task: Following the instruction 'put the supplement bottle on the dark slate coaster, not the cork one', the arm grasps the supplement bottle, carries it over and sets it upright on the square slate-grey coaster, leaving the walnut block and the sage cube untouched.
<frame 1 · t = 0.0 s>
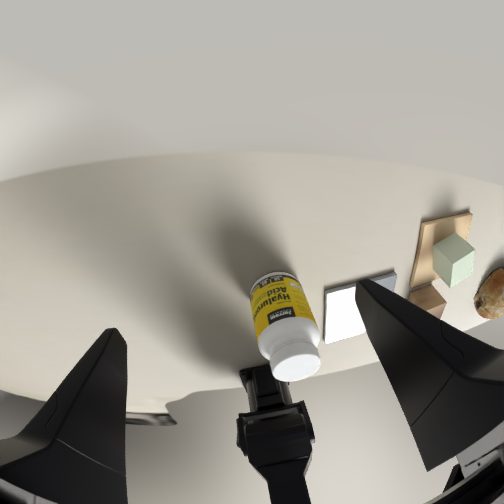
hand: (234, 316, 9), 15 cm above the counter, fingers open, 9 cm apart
sage cube: (444, 251, 29), point 1 cm above the counter, touching cork coaster
cork coaster: (441, 248, 29), on the counter
bread roll: (489, 285, 37), on the counter
walnut block: (416, 303, 34), on the counter
supplement bottle: (274, 289, 29), on the counter
slate coaster: (358, 308, 32), on the counter
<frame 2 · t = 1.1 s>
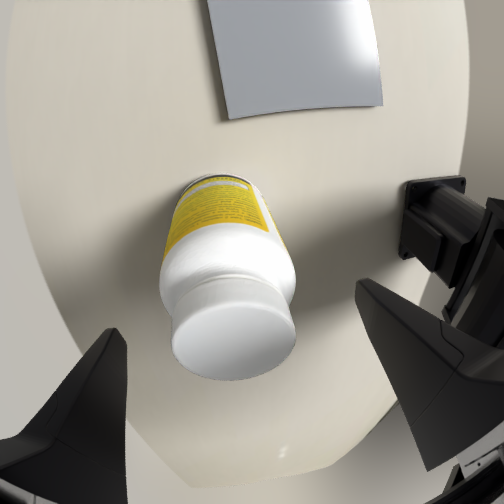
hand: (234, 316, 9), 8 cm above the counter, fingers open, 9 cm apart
supplement bottle: (220, 213, 17), on the counter
slate coaster: (298, 33, 11), on the counter
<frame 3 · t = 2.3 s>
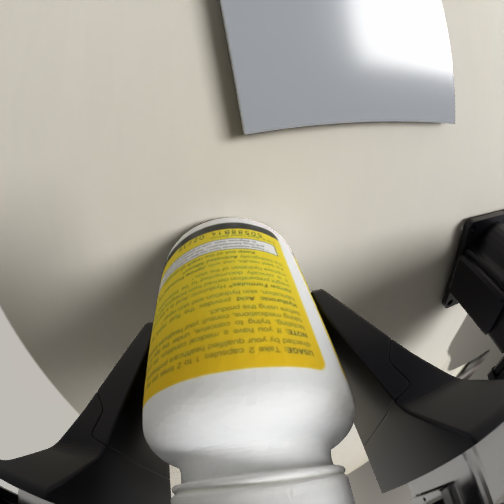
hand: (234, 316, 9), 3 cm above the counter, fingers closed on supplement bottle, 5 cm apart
supplement bottle: (229, 270, 12), on the counter, touching gripper
slate coaster: (349, 8, 6), on the counter
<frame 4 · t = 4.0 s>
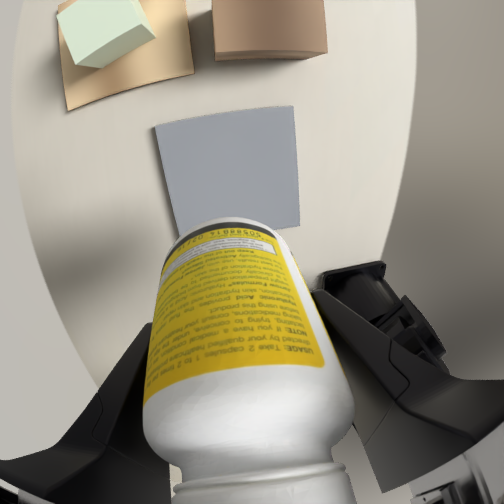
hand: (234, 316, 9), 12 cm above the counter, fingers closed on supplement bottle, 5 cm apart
sage cube: (117, 30, 12), point 1 cm above the counter, touching cork coaster
cork coaster: (120, 32, 12), on the counter
walnut block: (259, 32, 14), on the counter
supplement bottle: (227, 270, 12), point 9 cm above the counter, touching gripper
slate coaster: (232, 175, 19), on the counter
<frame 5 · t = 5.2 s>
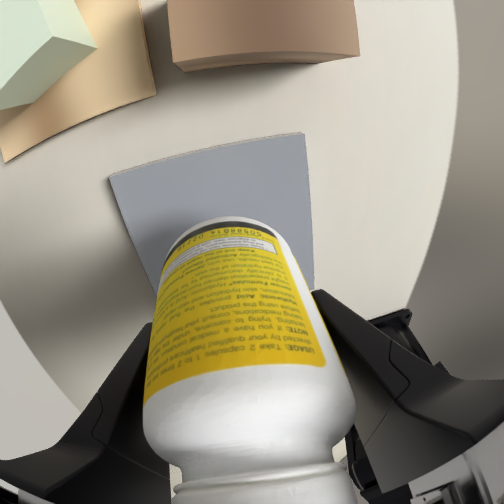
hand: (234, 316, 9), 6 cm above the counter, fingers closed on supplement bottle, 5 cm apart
sage cube: (49, 46, 7), point 1 cm above the counter, touching cork coaster
cork coaster: (55, 47, 8), on the counter
walnut block: (249, 25, 9), on the counter
supplement bottle: (228, 269, 12), point 3 cm above the counter, touching gripper
slate coaster: (222, 234, 14), on the counter
when the fingers open (4 cm above the counter, at t = 6.0 s): supplement bottle stays where it is, resting on slate coaster.
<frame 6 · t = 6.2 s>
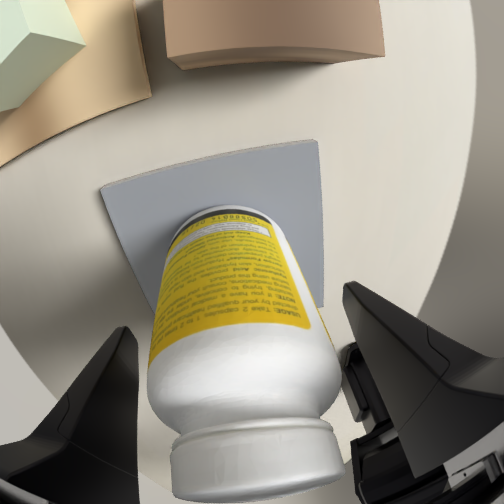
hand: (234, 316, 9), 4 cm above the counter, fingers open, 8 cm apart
sage cube: (34, 45, 6), point 1 cm above the counter, touching cork coaster
cork coaster: (41, 46, 6), on the counter
walnut block: (256, 19, 8), on the counter
supplement bottle: (228, 255, 13), resting on slate coaster
slate coaster: (226, 250, 13), on the counter
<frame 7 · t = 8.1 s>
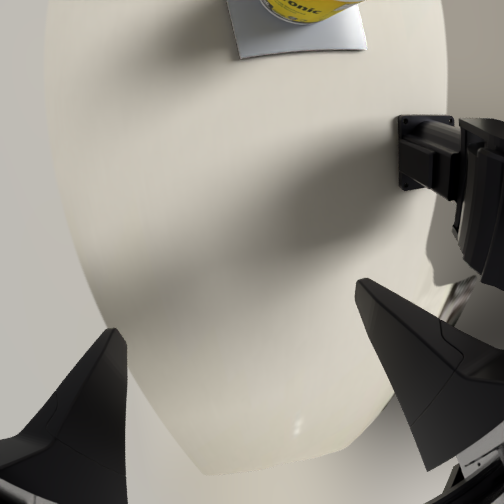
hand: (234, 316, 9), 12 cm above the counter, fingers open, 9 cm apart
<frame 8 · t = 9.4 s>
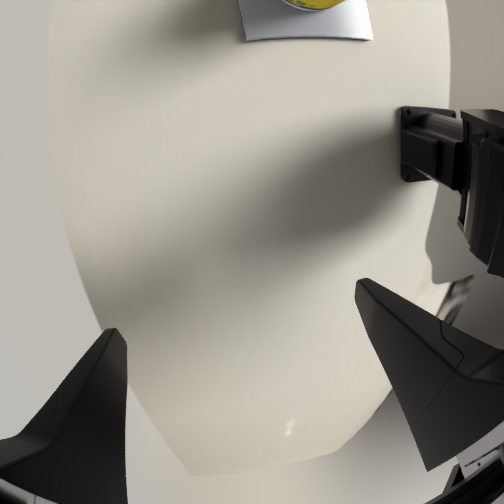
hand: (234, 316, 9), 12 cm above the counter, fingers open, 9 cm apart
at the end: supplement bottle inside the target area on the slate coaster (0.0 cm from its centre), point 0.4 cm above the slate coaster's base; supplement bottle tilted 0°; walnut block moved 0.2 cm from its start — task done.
